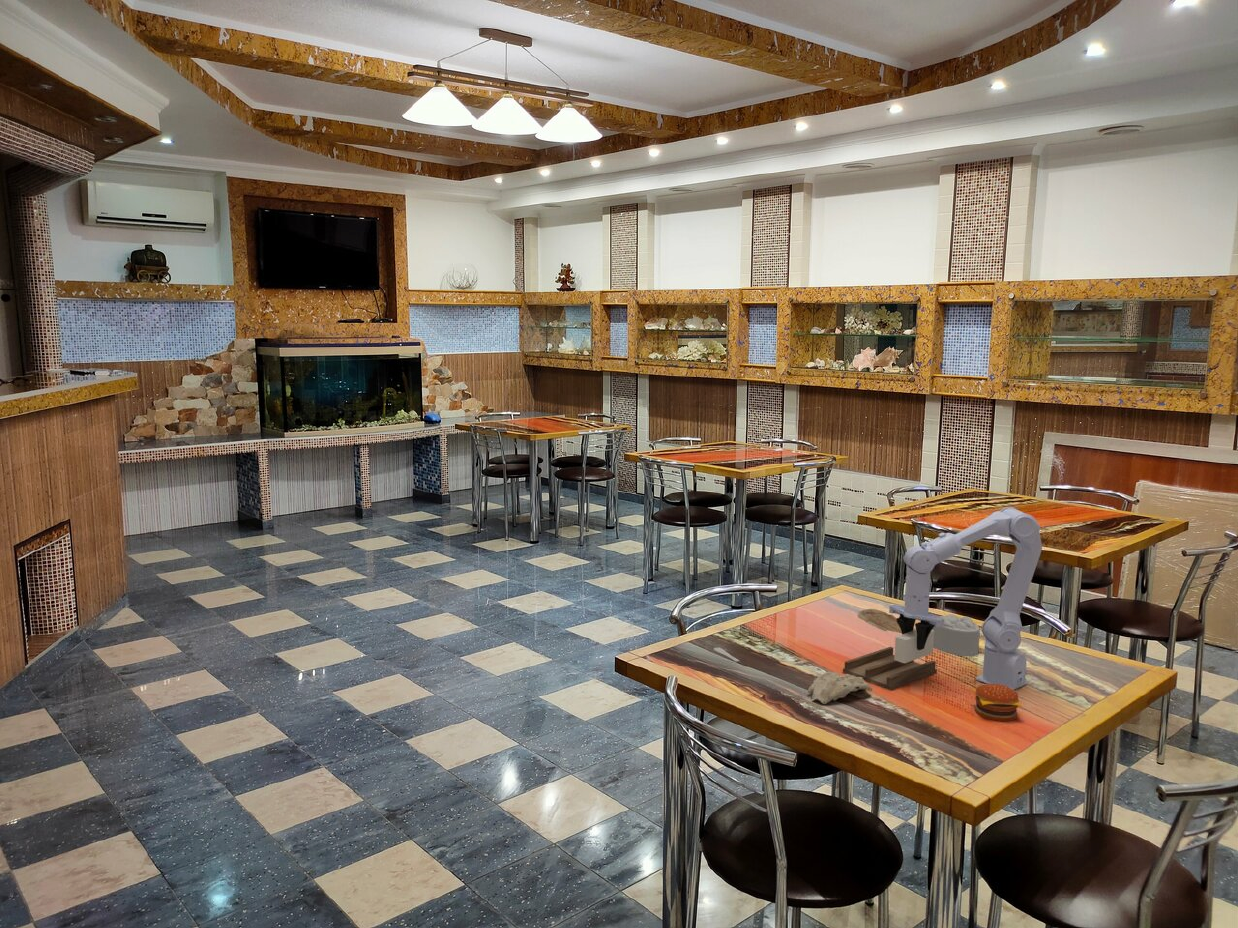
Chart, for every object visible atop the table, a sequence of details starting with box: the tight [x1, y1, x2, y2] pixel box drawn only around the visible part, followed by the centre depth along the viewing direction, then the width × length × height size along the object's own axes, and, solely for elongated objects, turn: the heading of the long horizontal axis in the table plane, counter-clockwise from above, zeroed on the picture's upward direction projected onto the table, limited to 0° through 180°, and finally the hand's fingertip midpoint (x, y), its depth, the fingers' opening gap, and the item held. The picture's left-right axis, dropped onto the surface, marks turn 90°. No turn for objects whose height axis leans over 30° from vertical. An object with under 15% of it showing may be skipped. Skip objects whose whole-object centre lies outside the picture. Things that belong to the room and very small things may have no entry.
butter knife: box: [712, 647, 740, 662], centre depth 239 cm, size 1×24×3 cm
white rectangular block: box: [893, 629, 934, 663], centre depth 224 cm, size 3×12×6 cm, turn 127°
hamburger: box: [972, 683, 1023, 722], centre depth 206 cm, size 9×10×7 cm
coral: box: [807, 671, 873, 705], centre depth 217 cm, size 15×12×5 cm
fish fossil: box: [857, 608, 902, 634], centre depth 270 cm, size 26×10×1 cm, turn 18°
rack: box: [842, 646, 938, 691], centre depth 231 cm, size 15×19×3 cm
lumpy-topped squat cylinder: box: [932, 614, 981, 657], centre depth 249 cm, size 10×13×9 cm
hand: (914, 647), depth 224 cm, fingers closed on white rectangular block, 3 cm apart
